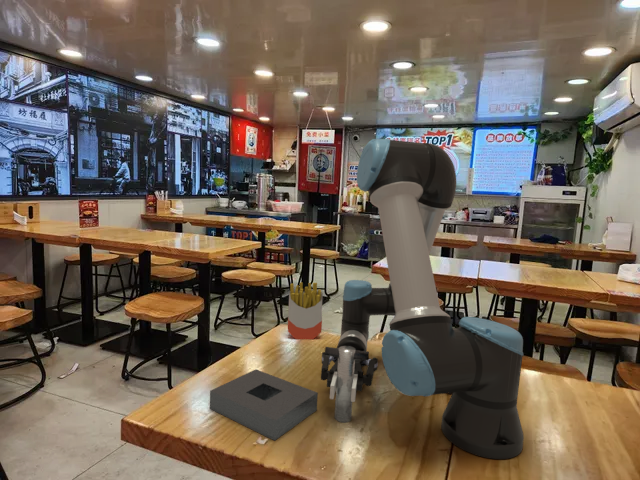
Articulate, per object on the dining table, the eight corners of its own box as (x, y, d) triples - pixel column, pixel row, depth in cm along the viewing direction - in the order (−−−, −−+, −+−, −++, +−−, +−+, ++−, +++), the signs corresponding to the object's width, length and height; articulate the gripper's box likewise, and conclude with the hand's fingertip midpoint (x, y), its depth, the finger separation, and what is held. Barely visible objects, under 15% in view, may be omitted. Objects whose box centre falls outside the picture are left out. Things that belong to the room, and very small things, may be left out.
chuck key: (364, 416, 85) (369, 348, 83) (363, 425, 81) (368, 354, 80) (323, 410, 86) (326, 343, 84) (320, 419, 83) (324, 349, 81)
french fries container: (321, 340, 129) (324, 285, 128) (287, 339, 128) (290, 284, 126) (319, 335, 134) (322, 282, 132) (287, 334, 133) (289, 281, 131)
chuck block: (316, 410, 86) (317, 392, 86) (274, 440, 74) (275, 420, 74) (255, 385, 96) (255, 369, 96) (209, 408, 84) (210, 390, 84)
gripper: (383, 368, 100) (384, 417, 77) (318, 360, 102) (300, 406, 79) (385, 339, 99) (386, 380, 76) (320, 332, 101) (301, 370, 78)
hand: (342, 393), depth 77 cm, fingers closed on chuck key, 3 cm apart
